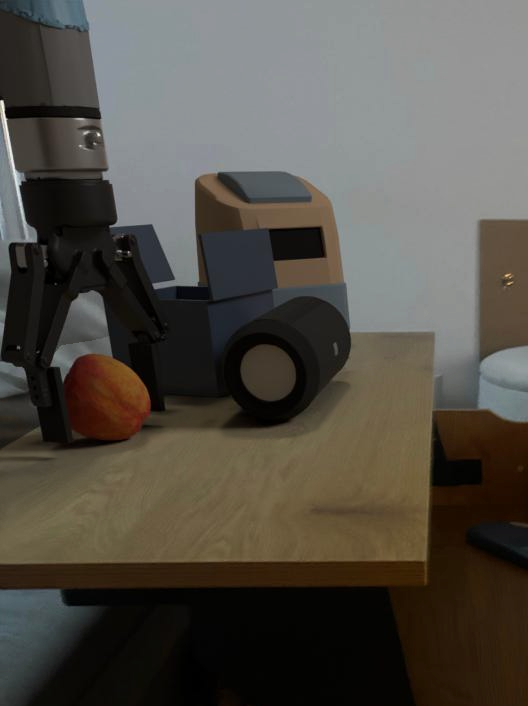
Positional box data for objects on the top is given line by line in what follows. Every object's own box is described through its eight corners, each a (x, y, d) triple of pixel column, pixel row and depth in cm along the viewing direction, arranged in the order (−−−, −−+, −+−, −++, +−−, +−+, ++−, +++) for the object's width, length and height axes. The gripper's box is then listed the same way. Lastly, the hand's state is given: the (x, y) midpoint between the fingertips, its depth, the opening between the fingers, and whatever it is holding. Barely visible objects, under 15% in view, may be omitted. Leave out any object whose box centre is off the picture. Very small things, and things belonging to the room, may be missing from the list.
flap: (102, 290, 111) (100, 291, 111) (175, 279, 122) (173, 280, 123) (75, 229, 109) (72, 230, 109) (152, 224, 120) (149, 225, 121)
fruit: (80, 430, 97) (65, 347, 94) (163, 429, 98) (151, 345, 94) (53, 450, 90) (35, 361, 87) (142, 448, 90) (128, 359, 87)
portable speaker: (319, 427, 98) (311, 322, 93) (220, 427, 98) (207, 322, 94) (356, 379, 121) (351, 293, 116) (276, 379, 121) (268, 293, 117)
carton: (117, 390, 116) (91, 233, 108) (187, 370, 127) (167, 227, 120) (225, 398, 111) (205, 234, 104) (286, 376, 123) (272, 227, 115)
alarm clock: (251, 371, 126) (229, 171, 116) (197, 355, 138) (173, 172, 128) (362, 356, 135) (350, 170, 125) (302, 343, 147) (287, 171, 137)
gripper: (-11, 176, 72) (47, 460, 82) (187, 175, 94) (216, 401, 103) (-89, 178, 75) (-24, 454, 84) (122, 176, 96) (155, 397, 105)
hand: (108, 425), depth 93 cm, fingers open, 13 cm apart
